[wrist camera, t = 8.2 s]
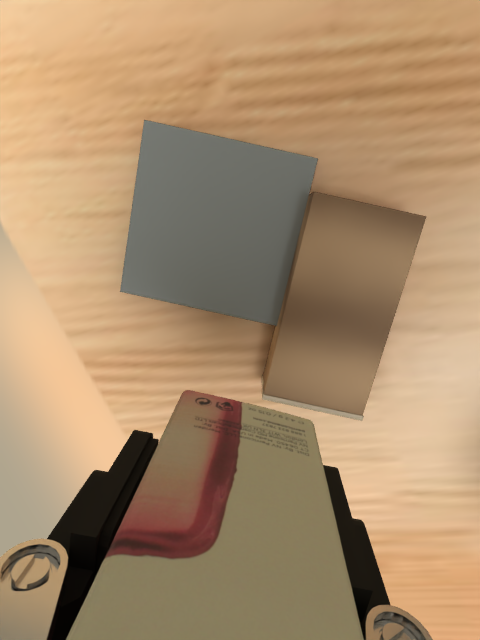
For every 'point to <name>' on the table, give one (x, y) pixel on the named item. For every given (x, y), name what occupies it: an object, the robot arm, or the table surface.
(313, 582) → the small box
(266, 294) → the slate pad
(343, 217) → the bronze rectangular slab
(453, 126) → the table surface
